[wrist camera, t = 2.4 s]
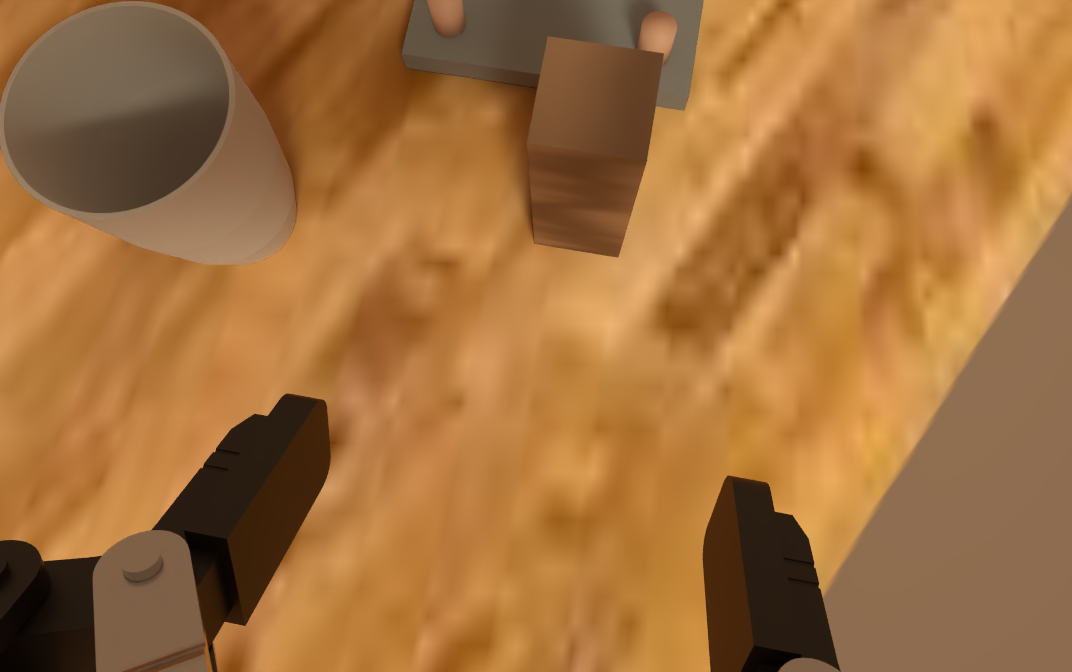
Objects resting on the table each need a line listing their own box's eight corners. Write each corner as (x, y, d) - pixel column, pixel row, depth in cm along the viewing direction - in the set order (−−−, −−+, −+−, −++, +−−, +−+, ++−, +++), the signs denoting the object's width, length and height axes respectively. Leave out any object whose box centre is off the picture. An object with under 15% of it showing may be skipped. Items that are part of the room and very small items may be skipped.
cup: (299, 115, 34) (198, -31, 24) (350, 260, 33) (263, 166, 23) (143, 172, 34) (-25, 47, 24) (186, 322, 32) (26, 254, 22)
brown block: (534, 243, 33) (526, 142, 23) (549, 166, 33) (547, 36, 24) (618, 257, 32) (646, 161, 22) (631, 179, 33) (664, 53, 23)
